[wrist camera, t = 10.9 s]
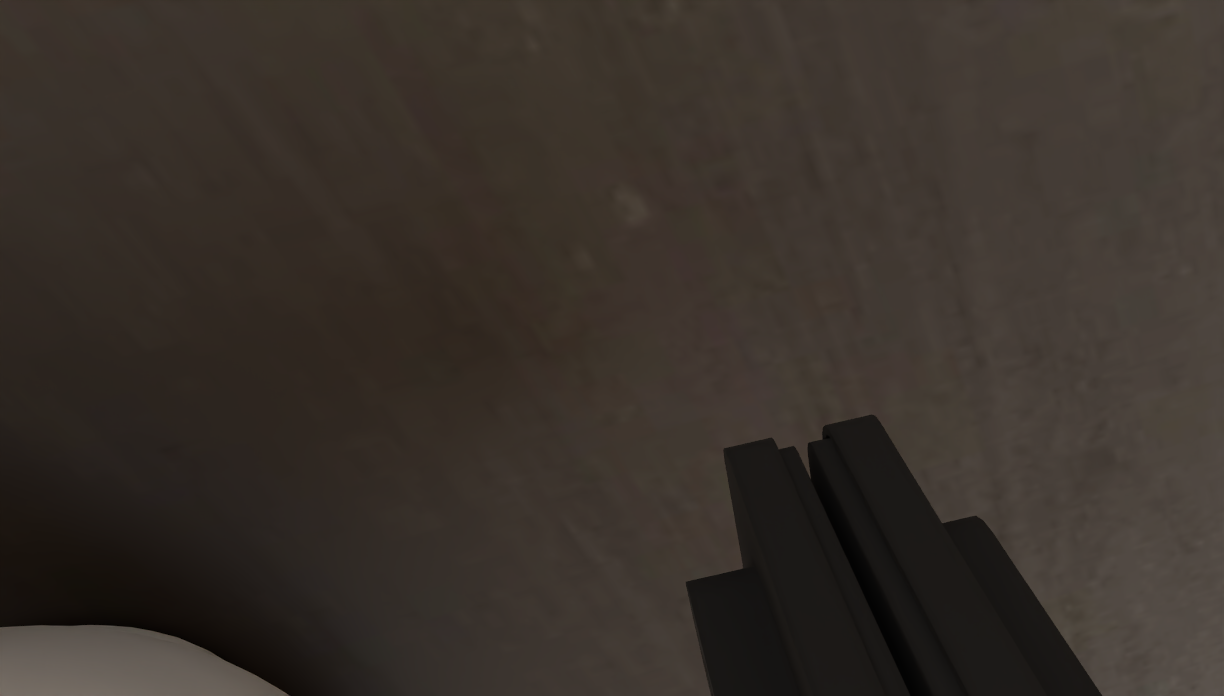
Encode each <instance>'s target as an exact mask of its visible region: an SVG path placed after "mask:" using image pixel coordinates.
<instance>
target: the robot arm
mask: <svg viewBox="0 0 1224 696" xmlns="http://www.w3.org/2000/svg"><path fill="white" fill-rule="evenodd" d="M822 435H823V440H818V441H814V442H810V443H808V458H809V467H810V475H811V479H810V477H809V475H808V473H807V471H806V469H805V466H804V464H803V462H802V460H801V458H800V456H799V453H798V451H797V450H796V448H795V447H794V446H792V447H788V448H783V449H779V450H778V447H777V445H776V443H775V441H774V439H772V438H768V439H764V440H759V441H755V442H750V443H746V444H742V445H737V446H733V447H729V448H724V458H725V465H726V471H727V476H728V482H729V488H730V493H731V499H732V505H733V511H734V516H735V522H736V528H737V533H738V539H739V545H740V551H741V556H742V562H743V568H744V569H740V570H736V571H731V572H727V573H723V574H718V575H714V576H710V577H705V578H701V579H696V580H692V581H688V582H686V587H687V591H688V596H689V601H690V605H691V610H692V614H693V619H694V623H695V628H696V632H697V637H698V641H699V646H700V650H701V654H702V659H703V663H704V667H705V671H706V676H707V680H708V684H709V688H710V693H711V696H1102V695H1101V693H1100V692H1099V690H1098V689H1097V687H1096V686H1095V684H1094V683H1093V681H1092V680H1091V678H1090V677H1089V675H1088V674H1087V672H1086V671H1085V669H1084V668H1083V666H1082V665H1081V663H1080V662H1079V660H1078V659H1077V657H1076V656H1075V654H1074V653H1073V651H1072V650H1071V649H1070V647H1069V646H1068V644H1067V643H1066V641H1065V640H1064V638H1063V637H1062V635H1061V634H1060V632H1059V631H1058V629H1057V628H1056V626H1055V625H1054V623H1053V622H1052V620H1051V619H1050V617H1049V616H1048V614H1047V613H1046V611H1045V610H1044V608H1043V607H1042V605H1041V604H1040V602H1039V601H1038V599H1037V598H1036V596H1035V595H1034V593H1033V592H1032V590H1031V589H1030V587H1029V586H1028V584H1027V583H1026V581H1025V580H1024V578H1023V577H1022V575H1021V574H1020V573H1019V571H1018V570H1017V568H1016V567H1015V565H1014V564H1013V562H1012V561H1011V559H1010V558H1009V556H1008V555H1007V553H1006V552H1005V550H1004V549H1003V547H1002V546H1001V544H1000V543H999V541H998V540H997V538H996V537H995V535H994V534H993V532H992V531H991V530H990V528H989V527H988V526H987V525H986V523H985V522H984V521H983V520H982V519H980V518H978V517H977V516H972V517H968V518H964V519H959V520H955V521H950V522H946V523H941V521H940V519H939V518H938V516H937V515H936V513H935V511H934V510H933V508H932V506H931V505H930V503H929V501H928V500H927V498H926V497H925V495H924V493H923V492H922V490H921V488H920V487H919V485H918V483H917V482H916V480H915V479H914V477H913V475H912V474H911V472H910V470H909V469H908V467H907V465H906V464H905V462H904V461H903V459H902V457H901V456H900V454H899V452H898V451H897V449H896V447H895V446H894V444H893V443H892V441H891V439H890V438H889V436H888V434H887V433H886V431H885V429H884V428H883V426H882V425H881V423H880V421H879V420H878V419H877V417H876V416H874V415H868V416H864V417H860V418H855V419H851V420H846V421H842V422H838V423H833V424H829V425H825V426H824V427H823V432H822Z"/></svg>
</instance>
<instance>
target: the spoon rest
mask: <svg viewBox="0 0 1224 696" xmlns="http://www.w3.org/2000/svg"><path fill="white" fill-rule="evenodd" d="M0 696H290V695H288V694H287V693H285V692H283V691H282V690H280V689H278V688H277V687H275V686H273V685H272V684H270V683H268V682H266V681H265V680H263V679H261V678H259V677H258V676H256V675H254V674H252V673H250V672H248V671H246V670H244V669H242V668H240V667H237V666H235V665H233V664H231V663H229V662H227V661H225V660H223V659H221V658H220V657H218V656H216V655H215V654H213V653H212V652H210V651H208V650H206V649H204V648H201V647H199V646H197V645H194V644H192V643H190V642H187V641H185V640H183V639H180V638H178V637H174V636H170V635H166V634H162V633H158V632H154V631H150V630H144V629H139V628H134V627H122V626H107V625H79V626H49V625H35V626H15V627H0Z"/></svg>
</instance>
